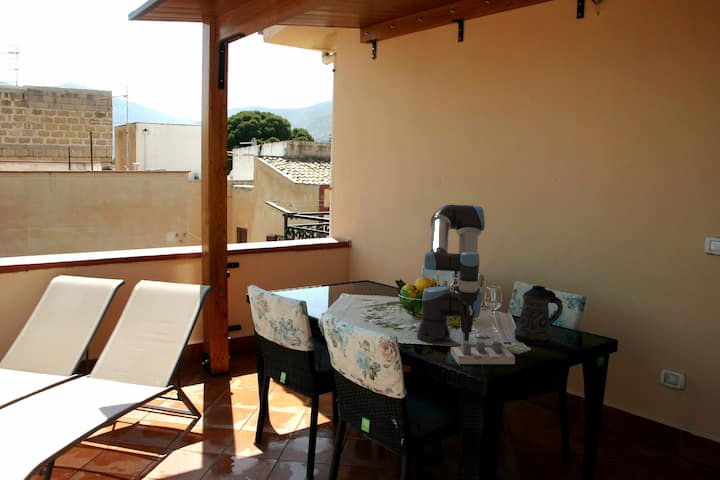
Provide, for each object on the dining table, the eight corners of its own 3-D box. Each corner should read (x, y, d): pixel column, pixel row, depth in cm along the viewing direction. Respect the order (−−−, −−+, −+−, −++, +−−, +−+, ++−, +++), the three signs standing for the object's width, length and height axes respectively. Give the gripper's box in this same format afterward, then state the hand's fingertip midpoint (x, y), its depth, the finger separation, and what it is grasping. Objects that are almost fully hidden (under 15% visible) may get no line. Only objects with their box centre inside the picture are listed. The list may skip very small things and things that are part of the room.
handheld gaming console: (503, 339, 268) (531, 347, 257) (502, 342, 268) (531, 351, 257) (489, 343, 262) (517, 351, 250) (488, 346, 262) (517, 355, 250)
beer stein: (506, 336, 277) (510, 283, 274) (541, 333, 284) (545, 282, 281) (528, 346, 261) (532, 291, 258) (564, 343, 268) (568, 289, 265)
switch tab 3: (491, 349, 248) (492, 341, 247) (498, 349, 248) (499, 341, 247) (494, 352, 244) (495, 343, 243) (502, 352, 244) (502, 344, 243)
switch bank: (450, 353, 248) (450, 346, 248) (504, 353, 250) (504, 346, 250) (458, 363, 236) (458, 356, 235) (514, 364, 238) (515, 356, 237)
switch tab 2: (475, 349, 247) (476, 341, 246) (482, 349, 247) (483, 341, 247) (478, 352, 243) (478, 343, 243) (485, 352, 243) (485, 343, 243)
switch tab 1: (461, 352, 242) (461, 343, 242) (468, 352, 243) (469, 343, 242) (463, 355, 238) (464, 346, 238) (471, 355, 239) (471, 346, 238)
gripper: (455, 287, 246) (452, 342, 249) (463, 293, 233) (459, 352, 236) (472, 287, 246) (469, 342, 249) (481, 294, 233) (478, 352, 236)
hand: (465, 347), depth 242 cm, fingers closed
